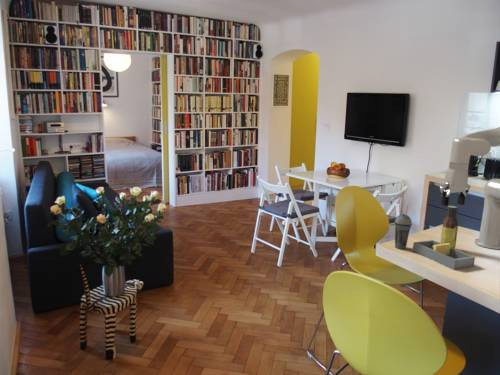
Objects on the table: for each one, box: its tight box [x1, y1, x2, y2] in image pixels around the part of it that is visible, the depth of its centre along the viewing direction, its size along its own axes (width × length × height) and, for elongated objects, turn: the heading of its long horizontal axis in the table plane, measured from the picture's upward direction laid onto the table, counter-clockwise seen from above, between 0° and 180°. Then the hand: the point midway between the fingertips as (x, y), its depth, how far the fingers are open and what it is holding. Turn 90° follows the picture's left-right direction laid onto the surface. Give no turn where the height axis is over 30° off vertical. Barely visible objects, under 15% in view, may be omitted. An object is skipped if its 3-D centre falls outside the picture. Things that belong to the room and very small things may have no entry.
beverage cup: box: [394, 204, 413, 250], centre depth 183 cm, size 7×7×20 cm
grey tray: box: [412, 239, 476, 271], centre depth 174 cm, size 11×22×4 cm, turn 23°
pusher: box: [432, 243, 451, 255], centre depth 176 cm, size 8×5×5 cm, turn 113°
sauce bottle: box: [440, 205, 459, 249], centre depth 184 cm, size 7×6×20 cm
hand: (452, 204), depth 181 cm, fingers open, 9 cm apart
